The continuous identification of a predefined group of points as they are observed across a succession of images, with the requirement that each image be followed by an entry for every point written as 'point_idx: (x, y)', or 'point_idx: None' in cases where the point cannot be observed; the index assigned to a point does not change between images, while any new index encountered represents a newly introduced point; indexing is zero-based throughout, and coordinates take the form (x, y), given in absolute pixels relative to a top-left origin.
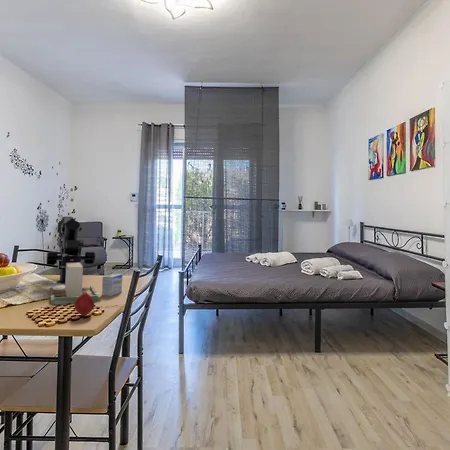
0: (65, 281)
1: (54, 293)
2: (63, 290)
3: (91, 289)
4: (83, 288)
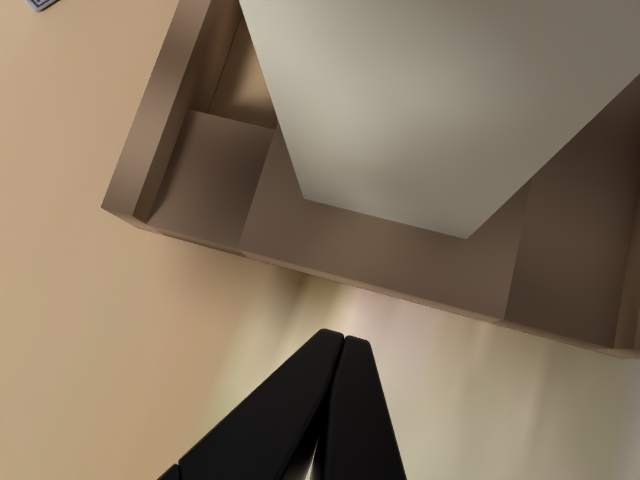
0: (505, 194)
1: (628, 129)
2: (486, 244)
3: (192, 74)
4: (222, 242)
